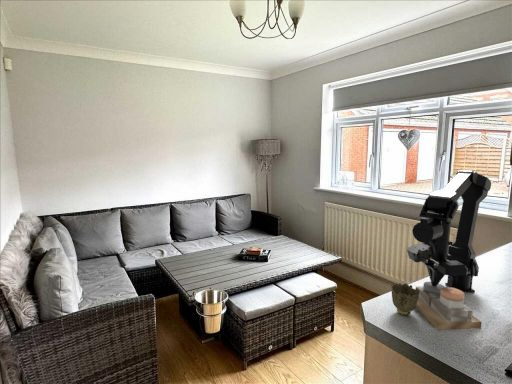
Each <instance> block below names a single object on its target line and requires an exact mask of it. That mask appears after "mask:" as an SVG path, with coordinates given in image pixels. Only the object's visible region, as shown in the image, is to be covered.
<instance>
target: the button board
mask: <svg viewBox="0 0 512 384" xmlns="http://www.w3.org/2000/svg"><path fill="white" fill-rule="evenodd" d="M423 286H424V285H422V286H415V289H416V288H418V290H420V292H419V297H418V301H417V305H416V307H415V309H414V310H416V311H417V312H418V313H419V314H420V315H421V316H422V317H423V318H424V319H425V320H427V321H428V322H429V323H430V325H432V326H433V327H434V329H436V330H437V331H447V330H449V331H451V330H481V329H482V325H483V324H482V321H481V320H480V319H478V317H476V316H475V315H473V310H472V309H471V308H469V307H468V306H466V305H465V304H463V309H448V308H447V307H445V306H444V305H443V304H442V303H440V295H430V294H429V293H427V292H426V291H425V290H424V289H423Z"/></svg>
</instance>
